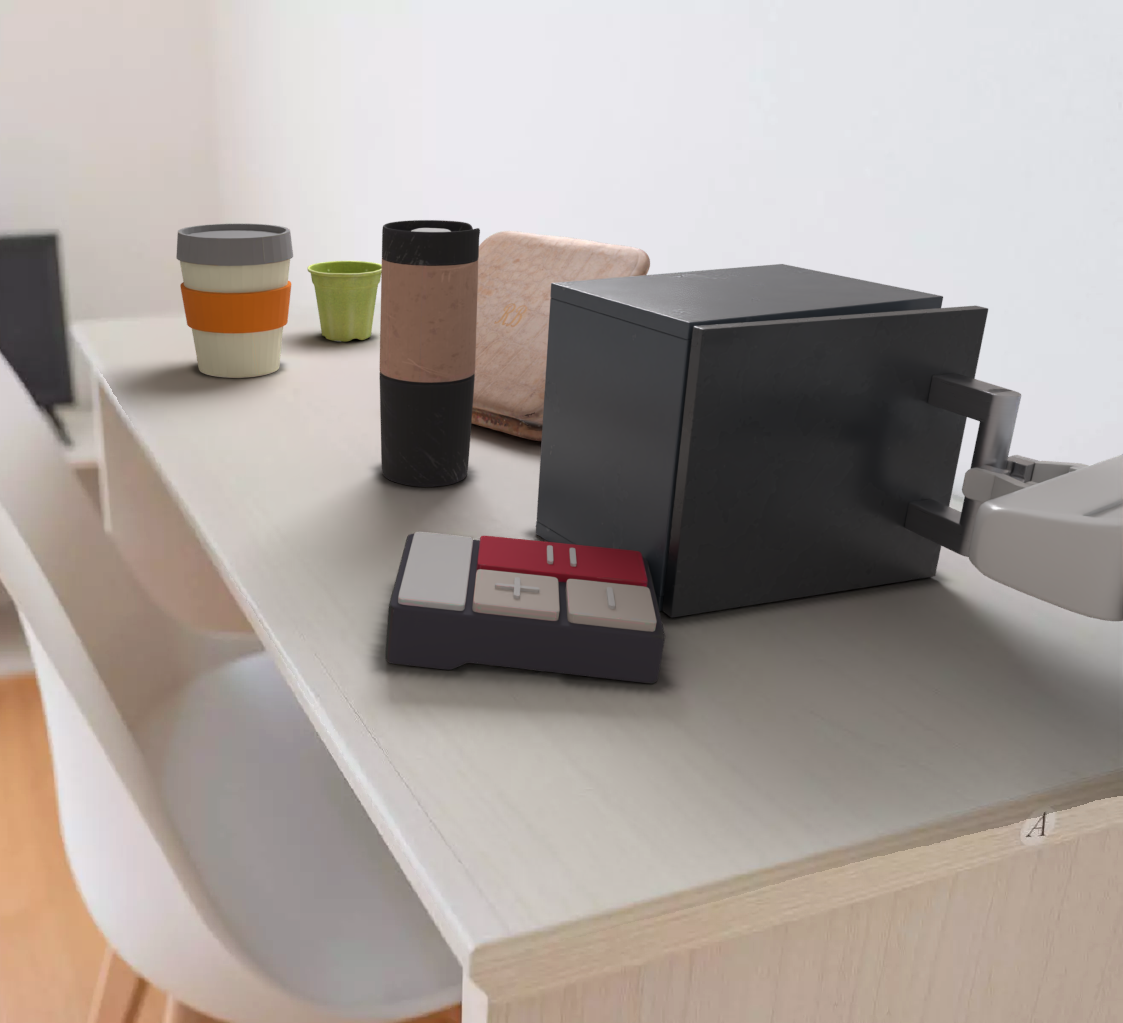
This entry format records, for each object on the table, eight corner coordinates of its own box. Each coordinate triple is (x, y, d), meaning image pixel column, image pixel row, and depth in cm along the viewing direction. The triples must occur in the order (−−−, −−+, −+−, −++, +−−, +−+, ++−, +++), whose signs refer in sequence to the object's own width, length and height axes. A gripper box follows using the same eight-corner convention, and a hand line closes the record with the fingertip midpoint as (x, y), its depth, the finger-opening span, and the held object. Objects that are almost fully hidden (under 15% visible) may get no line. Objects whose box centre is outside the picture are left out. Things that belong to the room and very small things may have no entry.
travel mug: (360, 476, 95) (361, 226, 87) (410, 452, 101) (415, 217, 93) (440, 494, 91) (448, 234, 83) (487, 469, 96) (498, 224, 89)
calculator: (668, 624, 61) (388, 594, 63) (656, 695, 63) (383, 663, 65) (649, 545, 71) (408, 520, 73) (639, 607, 73) (403, 582, 75)
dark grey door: (1001, 610, 71) (1065, 326, 65) (723, 658, 65) (764, 350, 59) (924, 570, 77) (976, 305, 70) (662, 611, 71) (692, 325, 65)
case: (381, 404, 115) (383, 240, 109) (522, 370, 128) (531, 222, 122) (539, 453, 101) (550, 267, 95) (680, 409, 113) (698, 243, 108)
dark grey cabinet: (895, 559, 79) (943, 295, 72) (658, 611, 71) (689, 322, 65) (751, 494, 91) (782, 263, 84) (535, 533, 83) (550, 282, 77)
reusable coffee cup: (215, 350, 136) (209, 220, 131) (313, 360, 132) (311, 226, 127) (161, 375, 125) (152, 234, 120) (265, 386, 121) (261, 241, 116)
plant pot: (368, 347, 138) (368, 274, 135) (296, 341, 141) (295, 270, 138) (394, 332, 146) (395, 263, 143) (325, 326, 149) (325, 258, 146)
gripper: (1358, 455, 61) (1087, 396, 72) (1177, 535, 51) (892, 452, 62) (1322, 564, 64) (1065, 491, 75) (1141, 662, 53) (872, 560, 64)
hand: (985, 474), depth 68 cm, fingers closed, pressing on dark grey door
